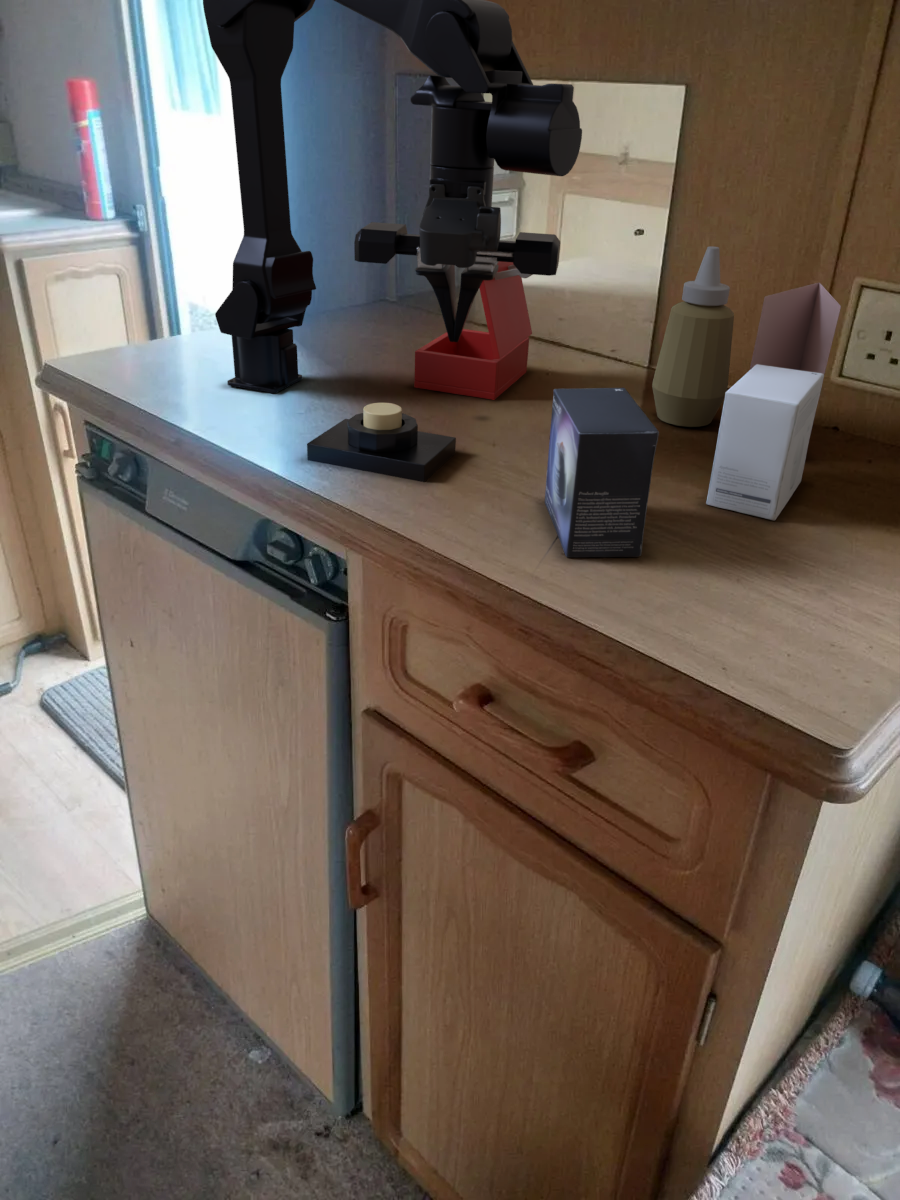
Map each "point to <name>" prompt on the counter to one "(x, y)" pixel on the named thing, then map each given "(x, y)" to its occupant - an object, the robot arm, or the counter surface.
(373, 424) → the button
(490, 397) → the box
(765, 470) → the cosmetics box
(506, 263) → the door
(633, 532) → the small box
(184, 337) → the counter surface
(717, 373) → the squeeze bottle
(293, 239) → the robot arm
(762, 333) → the greeting card
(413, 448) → the button housing
